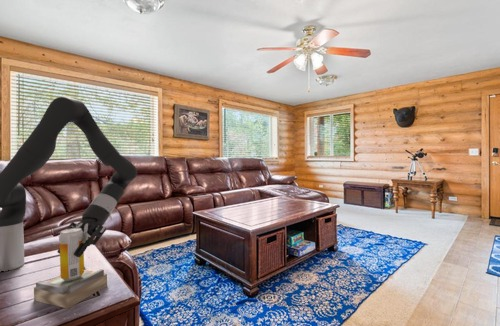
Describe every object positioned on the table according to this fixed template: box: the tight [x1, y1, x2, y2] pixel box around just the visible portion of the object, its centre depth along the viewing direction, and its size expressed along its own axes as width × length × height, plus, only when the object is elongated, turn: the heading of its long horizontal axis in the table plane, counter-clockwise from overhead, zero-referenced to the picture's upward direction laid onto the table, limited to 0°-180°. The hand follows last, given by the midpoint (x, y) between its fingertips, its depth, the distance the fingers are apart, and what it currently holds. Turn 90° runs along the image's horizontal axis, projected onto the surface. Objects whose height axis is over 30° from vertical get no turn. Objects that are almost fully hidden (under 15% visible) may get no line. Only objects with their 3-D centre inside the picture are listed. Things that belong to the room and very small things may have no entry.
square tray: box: [33, 269, 108, 310], centre depth 77 cm, size 14×13×6 cm
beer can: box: [58, 228, 85, 281], centre depth 77 cm, size 6×6×15 cm
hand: (68, 254), depth 76 cm, fingers open, 6 cm apart
